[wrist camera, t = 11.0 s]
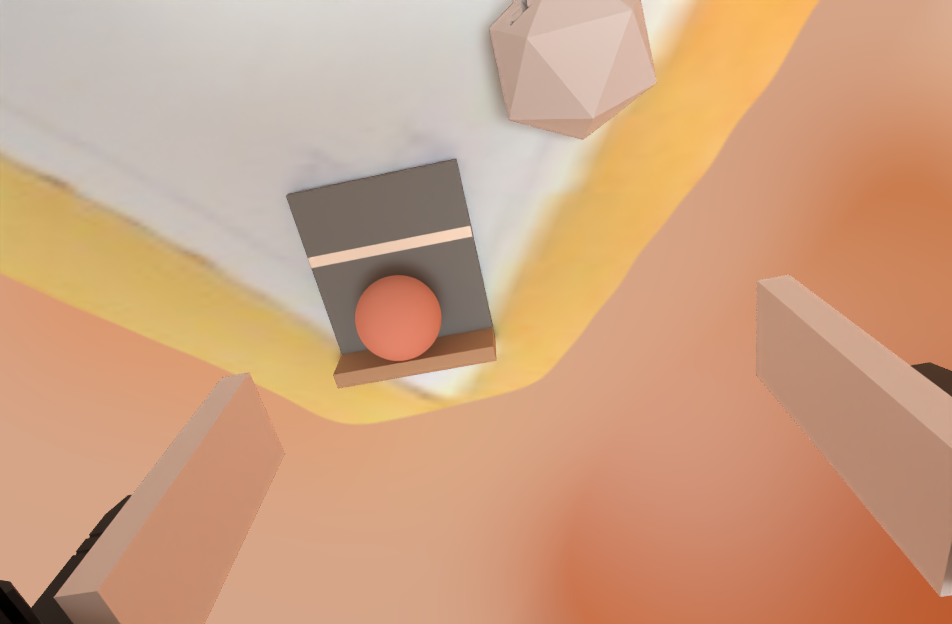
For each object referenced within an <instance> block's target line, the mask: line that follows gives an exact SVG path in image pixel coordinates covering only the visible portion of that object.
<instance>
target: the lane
mask: <svg viewBox="0 0 952 624" xmlns="http://www.w3.org/2000/svg"><path fill="white" fill-rule="evenodd" d="M286 197H287V200H288V203H289V206H290V209H291V211H292V214H293V217H294V220H295V223H296V226H297V228H298V231H299V234H300V237H301V240H302V243H303V245H304V248H305V251H306V254H307V257H308V260H309V263H310V266H311V268H312V271H313V274H314V277H315V279H316V282H317V285H318V288H319V291H320V294H321V296H322V299H323V302H324V305H325V308H326V311H327V313H328V316H329V319H330V322H331V325H332V328H333V330H334V333H335V336H336V339H337V342H338V345H339V347H340V350H341V353H342V356H341V358H340V360H339V363H338V365H337V367H336V370H335V372H334V374H333V376H334V379H335V381H336V384H337V387H338V388H343V387H349V386H355V385H360V384H366V383H372V382H377V381H383V380H389V379H394V378H400V377H406V376H411V375H417V374H423V373H429V372H434V371H440V370H446V369H451V368H457V367H463V366H468V365H474V364H480V363H485V362H491V361H496V344H495V334H494V330H493V325H492V320H491V316H490V311H489V307H488V302H487V298H486V293H485V288H484V284H483V279H482V275H481V270H480V265H479V261H478V256H477V252H476V247H475V242H474V238H473V233H472V229H471V224H470V219H469V215H468V210H467V206H466V201H465V196H464V192H463V187H462V183H461V178H460V173H459V169H458V164H457V160H456V159H453V160H448V161H444V162H439V163H434V164H429V165H424V166H420V167H415V168H410V169H405V170H401V171H396V172H391V173H386V174H382V175H377V176H372V177H367V178H363V179H358V180H353V181H348V182H344V183H339V184H334V185H329V186H325V187H320V188H315V189H310V190H306V191H301V192H296V193H291V194H288V195H287V196H286ZM393 275H403V276H409V277H412V278H415V279H417V280H419V281H421V282H422V283H424V284H425V285H426V286H428V287H429V288H430V290H431V291H432V292H433V293H434V295H435V296H436V298H437V300H438V302H439V305H440V309H441V318H442V319H441V327H440V331H439V334H438V336H437V338H436V340H435V341H434V343H433V344H432V345H431V347H430V348H429V349H428V350H426V351H425V352H424V353H422V354H421V355H419V356H417V357H415V358H412V359H409V360H405V361H392V360H387V359H384V358H381V357H379V356H377V355H375V354H374V353H372V352H371V351H370V350H369V349H368V348H367V347H366V346H365V345H364V344H363V342H362V341H361V339H360V337H359V335H358V333H357V329H356V325H355V311H356V307H357V304H358V301H359V299H360V297H361V295H362V294H363V293H364V291H365V290H366V289H367V288H368V287H369V286H370V285H371V284H373V283H374V282H376V281H377V280H379V279H382V278H384V277H388V276H393Z"/></svg>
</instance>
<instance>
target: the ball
mask: <svg viewBox="0 0 952 624" xmlns="http://www.w3.org/2000/svg"><path fill="white" fill-rule="evenodd" d="M441 319H442V318H441V309H440V305H439V302H438V300H437V298H436V296H435V295H434V293H433V292H432V291H431V290H430V288H429V287H428V286H426V285H425V284H424V283H422V282H421V281H419V280H417V279H415V278H412V277H409V276H403V275H393V276H388V277H384V278H382V279H379V280H377V281H376V282H374V283H373V284H371V285H370V286H369V287H368V288H367V289H366V290H365V291H364V293H363V294H362V295H361V297H360V299H359V301H358V304H357V307H356V311H355V325H356V329H357V333H358V335H359V337H360V339H361V341H362V342H363V344H364V345H365V346H366V347H367V348H368V349H369V350H370V351H371V352H372V353H374V354H375V355H377V356H379V357H381V358H384V359H387V360H392V361H405V360H409V359H412V358H415V357H417V356H419V355H421V354H422V353H424V352H425V351H426V350H428V349H429V348H430V347H431V345H432V344H433V343H434V341H435V340H436V338H437V336H438V334H439V331H440V327H441Z"/></svg>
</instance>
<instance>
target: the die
mask: <svg viewBox="0 0 952 624" xmlns="http://www.w3.org/2000/svg"><path fill="white" fill-rule="evenodd" d="M489 31H490V35H491V40H492V45H493V49H494V54H495V58H496V63H497V68H498V72H499V77H500V81H501V86H502V91H503V95H504V100H505V104H506V109H507V114H508V118H509V120H511V121H514V122H518V123H522V124H526V125H530V126H533V127H537V128H541V129H545V130H549V131H552V132H556V133H560V134H564V135H568V136H571V137H575V138H579V139H585V138H586V137H587V136H589V135H590V134H591V133H593V132H594V131H595V130H596V129H598V128H599V127H600V126H602V125H603V124H604V123H605V122H607V121H608V120H609V119H611V118H612V117H613V116H614V115H616V114H617V113H618V112H620V111H621V110H622V109H623V108H625V107H626V106H627V105H629V104H630V103H631V102H632V101H634V100H635V99H636V98H638V97H639V96H640V95H641V94H643V93H644V92H645V91H647V90H648V89H649V88H651V87H652V86H653V85H654V84H656V83H657V80H656V75H655V70H654V65H653V60H652V55H651V50H650V45H649V40H648V34H647V29H646V24H645V19H644V14H643V9H642V4H641V0H515V1H514V2H513V3H512V4H511V6H510V7H509V8H508V9H507V10H506V11H505V12H504V13H503V14H502V15H501V16H500V17H499V18H498V19H497V20H496V21H495V22H494V24H493V25H492V26H491V27H490V28H489Z"/></svg>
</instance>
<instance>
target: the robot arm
mask: <svg viewBox="0 0 952 624" xmlns="http://www.w3.org/2000/svg"><path fill="white" fill-rule="evenodd" d="M756 345H757V348H756V349H757V350H756V353H757V354H756V355H757V357H756V375H757V377H758V378H759V379H760V380H761V381H762V383H763V384H764V385H765V386H766V387H767V389H768V390H769V391H770V392H771V393H772V395H773V396H774V397H775V398H776V399H777V401H778V402H779V403H780V404H781V406H782V407H783V408H784V409H785V410H786V411H787V413H788V414H789V415H790V416H791V418H792V419H793V420H794V421H795V422H796V424H797V425H798V426H799V427H800V428H801V430H802V431H803V432H804V433H805V434H806V436H807V437H808V438H809V439H810V440H811V441H812V443H813V444H814V445H815V446H816V448H817V449H818V450H819V451H820V452H821V454H822V455H823V456H824V457H825V459H826V460H827V461H828V462H829V463H830V464H831V466H832V467H833V468H834V469H835V471H836V472H837V473H838V474H839V475H840V477H841V478H842V479H843V480H844V481H845V483H846V484H847V485H848V486H849V487H850V489H851V490H852V491H853V492H854V494H855V495H856V496H857V497H858V498H859V499H860V501H861V502H862V503H863V504H864V506H865V507H866V508H867V509H868V510H869V511H870V513H871V514H872V515H873V516H874V518H875V519H876V520H877V521H878V522H879V524H880V525H881V526H882V527H883V528H884V530H885V531H886V532H887V533H888V534H889V536H890V537H891V538H892V539H893V541H894V542H895V543H896V544H897V545H898V546H899V548H900V549H901V550H902V551H903V553H904V554H905V555H906V556H907V557H908V558H909V560H910V561H911V562H912V563H913V565H914V566H915V567H916V568H917V569H918V571H919V572H920V573H921V574H922V575H923V577H924V578H925V579H926V580H927V581H928V583H929V584H930V585H931V586H932V588H933V589H934V590H935V591H936V592H937V593H938V595H939V596H940V597H942V596H950V595H952V371H950V370H948V369H945V368H943V367H940V366H937V365H935V364H932V363H923V364H918V365H911V366H910V365H908V364H907V363H906V362H905V361H903V360H902V359H901V358H899V357H898V356H897V355H895V354H894V353H893V352H891V351H890V350H889V349H887V348H886V347H885V346H883V345H882V344H881V343H879V342H878V341H877V340H875V339H874V338H873V337H871V336H870V335H869V334H867V333H866V332H865V331H863V330H862V329H861V328H860V327H858V326H857V325H856V324H854V323H853V322H851V321H850V320H849V319H848V318H846V317H845V316H844V315H842V314H841V313H840V312H838V311H837V310H836V309H834V308H833V307H832V306H830V305H829V304H828V303H826V302H825V301H824V300H822V299H821V298H820V297H818V296H817V295H815V294H814V293H813V292H811V291H810V290H809V289H808V288H806V287H805V286H804V285H802V284H801V283H800V282H798V281H797V280H796V279H794V278H793V277H792V276H790V275H784V276H779V277H773V278H768V279H762V280H757V344H756ZM284 455H285V453H284V450H283V448H282V446H281V444H280V441H279V439H278V437H277V434H276V432H275V430H274V428H273V426H272V423H271V421H270V419H269V416H268V414H267V412H266V410H265V407H264V405H263V403H262V401H261V398H260V396H259V394H258V391H257V389H256V387H255V384H254V382H253V380H252V378H251V375H250V373H244V374H238V375H232V376H228V377H222V378H221V379H220V381H219V382H218V384H217V385H216V386H215V387H214V389H213V390H212V391H211V393H210V394H209V395H208V396H207V398H206V399H205V400H204V402H203V403H202V405H201V406H200V407H199V408H198V410H197V411H196V412H195V413H194V415H193V416H192V417H191V419H190V420H189V421H188V423H187V424H186V425H185V427H184V428H183V429H182V430H181V432H180V433H179V434H178V436H177V437H176V438H175V440H174V441H173V442H172V444H171V445H170V446H169V447H168V449H167V450H166V451H165V453H164V454H163V455H162V457H161V458H160V459H159V460H158V462H157V463H156V464H155V466H154V467H153V468H152V470H151V471H150V472H149V474H148V475H147V476H146V477H145V479H144V480H143V481H142V483H141V484H140V485H139V487H138V488H137V489H136V490H135V492H134V493H133V494H132V495H128V496H127V497H126V498H124V499H123V500H122V501H121V502H120V503H118V504H117V505H116V506H115V507H114V508H113V509H111V510H110V511H109V512H108V513H106V514H105V516H104V517H103V518H102V520H100V522H99V523H98V524H97V526H96V527H95V528H94V529H93V531H92V532H91V533H90V534H89V535H90V538H88V539H85V541H84V542H83V543H82V545H81V546H80V547H79V548H78V550H77V551H76V552H77V553H76V555H73V556H72V557H71V559H70V560H69V561H68V562H67V564H66V565H65V566H64V567H63V569H62V570H61V571H60V572H59V574H58V575H57V576H56V577H55V579H54V580H53V581H52V583H51V584H50V585H49V586H48V588H47V589H46V590H45V591H44V593H43V594H42V595H41V596H40V598H39V599H38V600H37V601H36V603H35V604H34V605H33V606H32V608H31V607H30V606H29V605H28V604H27V602H26V601H25V600H24V598H23V597H22V596H21V595H20V593H19V592H18V591H17V590H16V589H15V587H14V586H13V585H12V583H11V582H9V581H3V580H0V624H205V622H206V620H207V618H208V616H209V614H210V612H211V609H212V607H213V605H214V603H215V601H216V599H217V597H218V595H219V592H220V590H221V588H222V586H223V584H224V582H225V580H226V578H227V576H228V573H229V571H230V569H231V567H232V565H233V563H234V561H235V558H236V556H237V554H238V552H239V550H240V548H241V546H242V544H243V541H244V540H245V537H246V535H247V533H248V531H249V529H250V527H251V525H252V523H253V520H254V518H255V516H256V514H257V512H258V510H259V508H260V506H261V503H262V501H263V499H264V497H265V495H266V493H267V491H268V489H269V486H270V484H271V482H272V480H273V478H274V476H275V474H276V472H277V470H278V467H279V465H280V463H281V461H282V459H283V457H284Z"/></svg>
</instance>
